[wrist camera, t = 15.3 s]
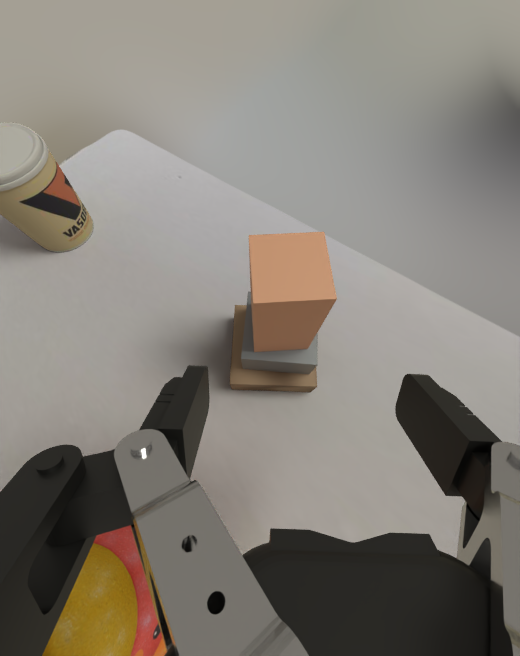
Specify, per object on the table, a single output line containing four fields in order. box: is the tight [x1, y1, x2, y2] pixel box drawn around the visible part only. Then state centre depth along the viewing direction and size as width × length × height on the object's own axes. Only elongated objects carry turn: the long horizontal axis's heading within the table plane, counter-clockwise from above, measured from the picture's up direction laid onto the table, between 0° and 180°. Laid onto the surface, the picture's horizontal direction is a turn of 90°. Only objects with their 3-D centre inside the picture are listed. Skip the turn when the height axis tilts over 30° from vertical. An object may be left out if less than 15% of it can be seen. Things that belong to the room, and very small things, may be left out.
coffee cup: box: [0, 122, 93, 252], centre depth 34 cm, size 9×9×12 cm
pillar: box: [249, 232, 337, 352], centre depth 22 cm, size 5×5×10 cm
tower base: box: [230, 305, 317, 392], centre depth 32 cm, size 9×9×4 cm
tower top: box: [241, 292, 317, 374], centre depth 29 cm, size 7×7×4 cm
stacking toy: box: [42, 526, 167, 656], centre depth 17 cm, size 14×14×20 cm
